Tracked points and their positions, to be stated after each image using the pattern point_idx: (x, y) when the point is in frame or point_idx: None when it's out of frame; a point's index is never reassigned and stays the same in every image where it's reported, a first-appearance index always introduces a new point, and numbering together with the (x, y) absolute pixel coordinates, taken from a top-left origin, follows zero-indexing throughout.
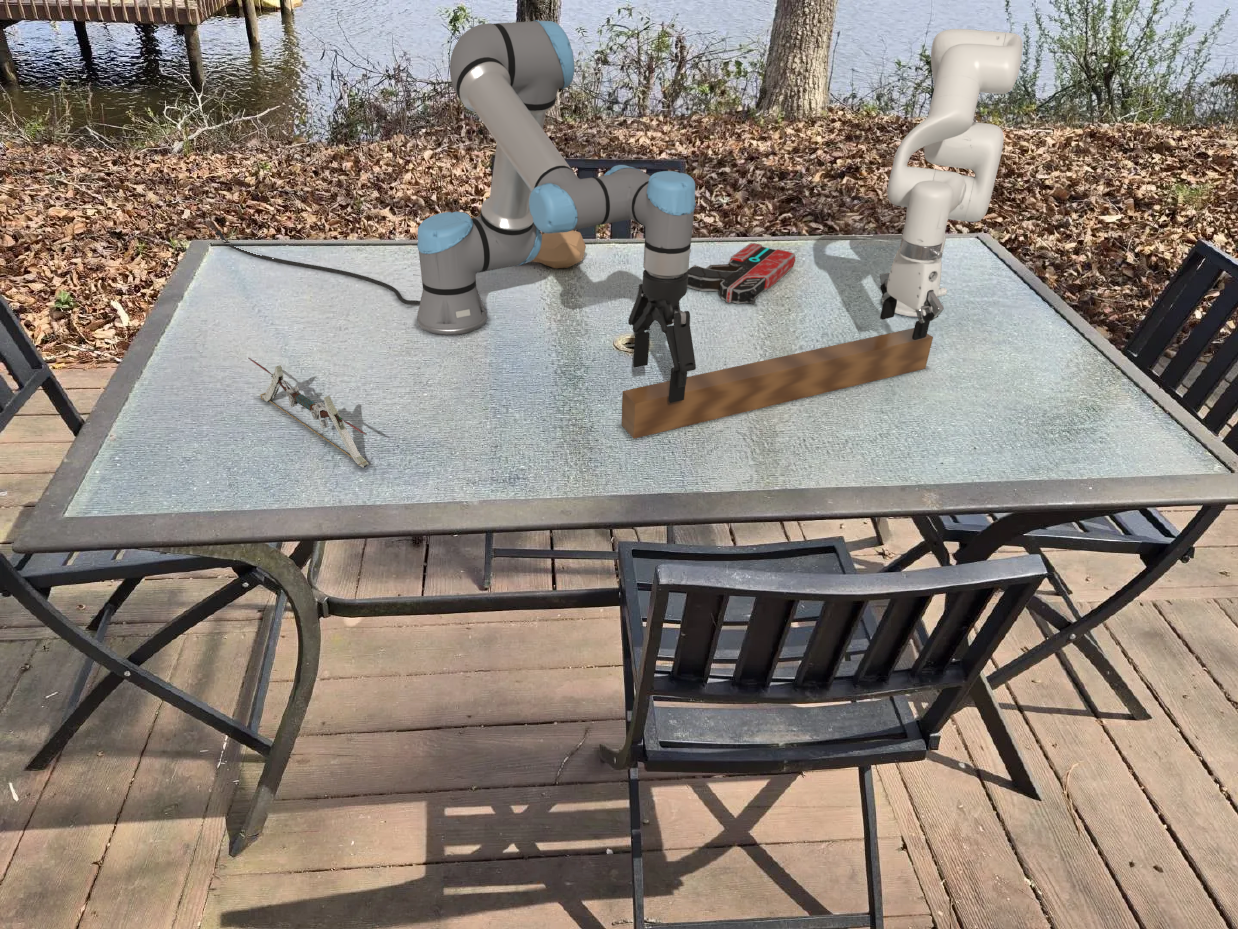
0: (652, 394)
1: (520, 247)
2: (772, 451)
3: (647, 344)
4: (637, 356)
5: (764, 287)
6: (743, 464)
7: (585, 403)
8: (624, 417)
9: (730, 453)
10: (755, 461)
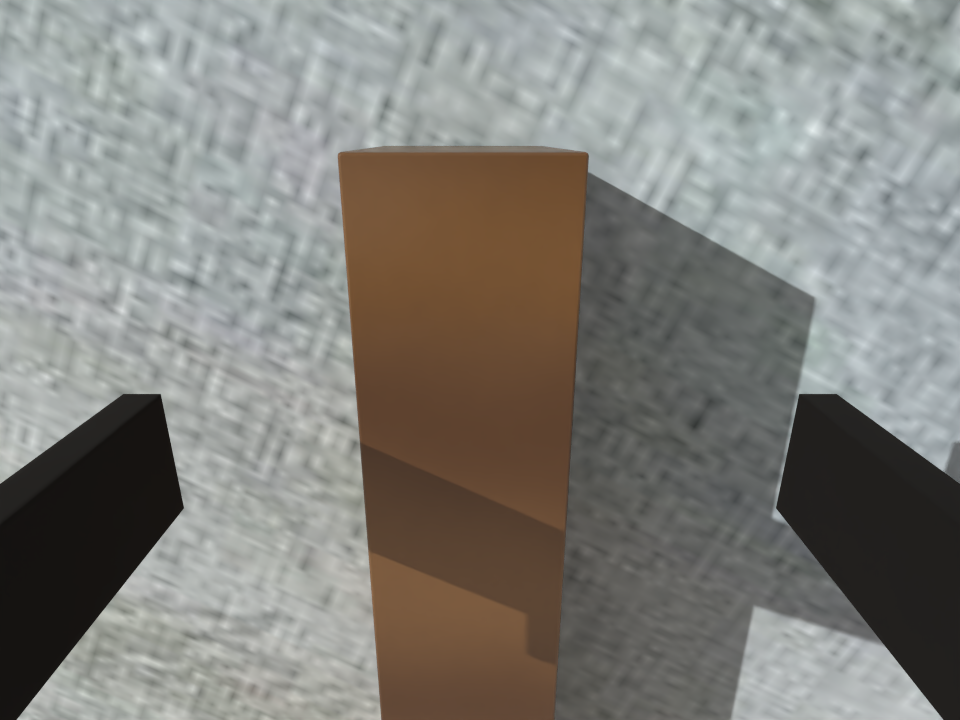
0: (428, 357)
1: None
2: (92, 660)
3: (912, 658)
4: (859, 471)
5: None
6: None
7: (884, 55)
8: (512, 147)
9: None
10: None
